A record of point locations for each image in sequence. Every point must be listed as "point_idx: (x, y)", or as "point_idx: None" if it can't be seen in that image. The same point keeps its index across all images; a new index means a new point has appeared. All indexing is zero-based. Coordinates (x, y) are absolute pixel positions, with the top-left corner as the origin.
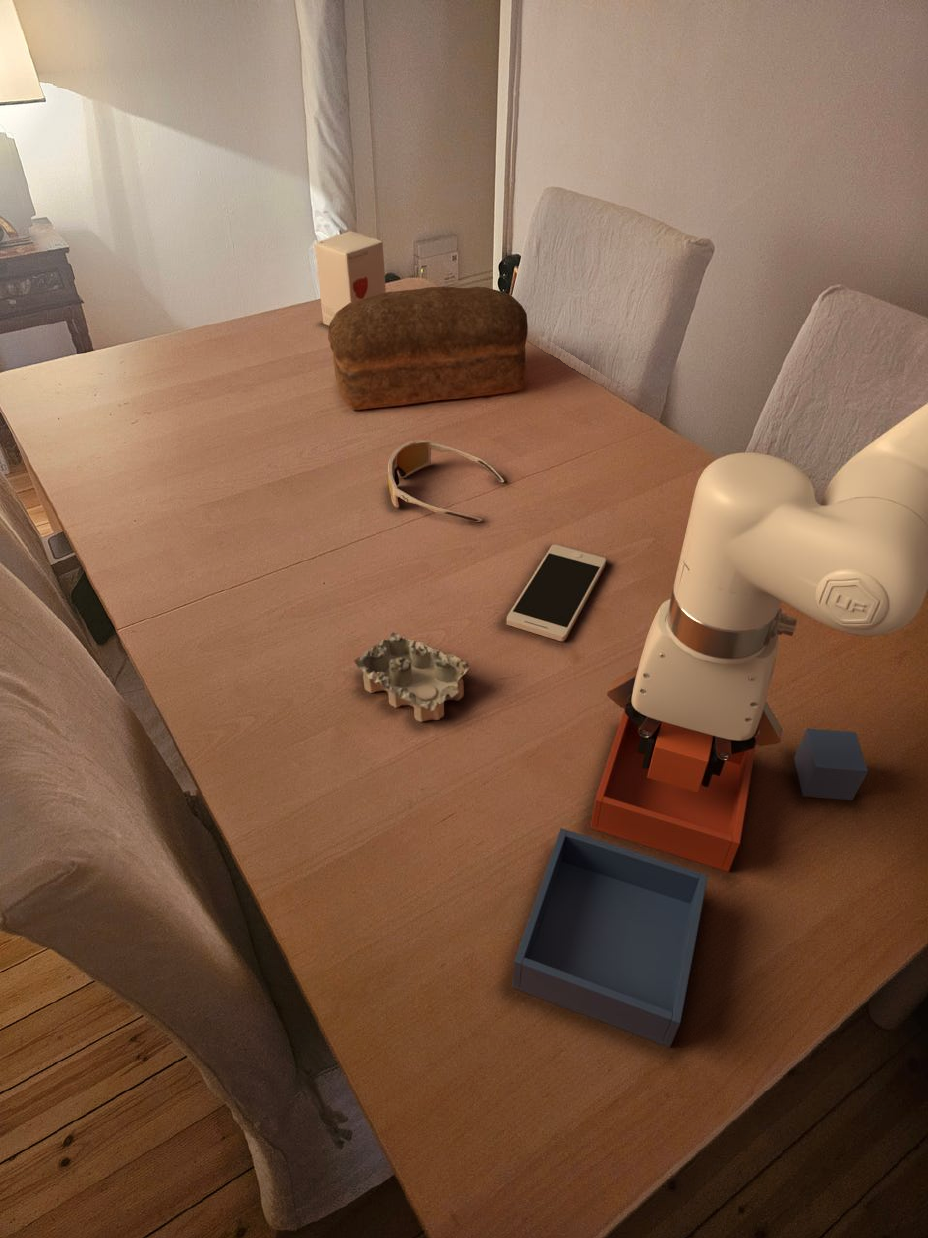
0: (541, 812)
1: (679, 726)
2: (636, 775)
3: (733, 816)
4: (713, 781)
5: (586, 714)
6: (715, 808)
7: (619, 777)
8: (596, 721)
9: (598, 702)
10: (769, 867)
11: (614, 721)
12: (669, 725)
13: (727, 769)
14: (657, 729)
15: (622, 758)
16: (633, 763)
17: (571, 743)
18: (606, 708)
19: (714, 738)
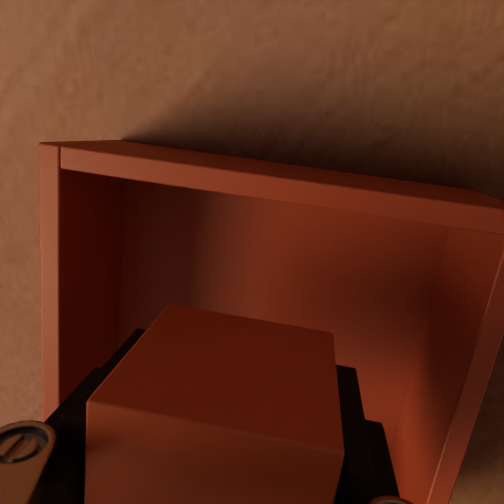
0: (8, 404)
1: (163, 495)
2: (171, 297)
3: (412, 434)
4: (370, 279)
5: (17, 102)
6: (370, 358)
7: (134, 309)
8: (47, 122)
9: (35, 42)
10: (486, 469)
11: (93, 109)
12: (119, 493)
13: (413, 231)
14: (84, 485)
15: (130, 251)
16: (159, 260)
17: (10, 213)
18: (61, 62)
19: (336, 498)
